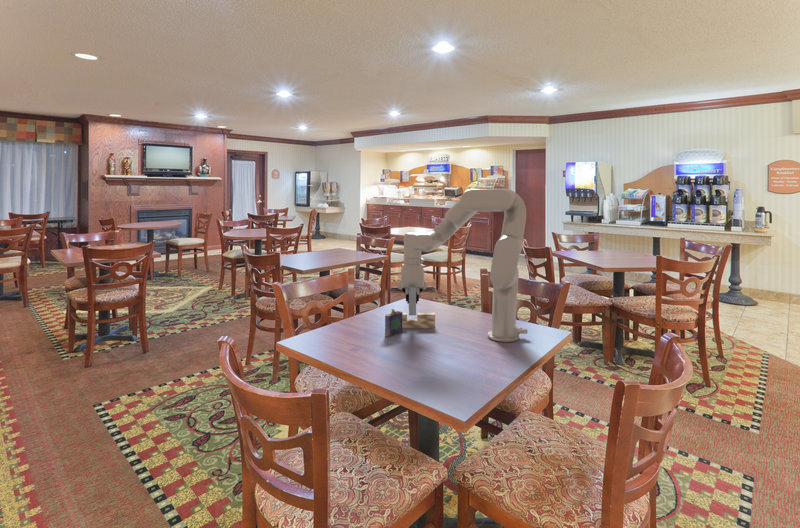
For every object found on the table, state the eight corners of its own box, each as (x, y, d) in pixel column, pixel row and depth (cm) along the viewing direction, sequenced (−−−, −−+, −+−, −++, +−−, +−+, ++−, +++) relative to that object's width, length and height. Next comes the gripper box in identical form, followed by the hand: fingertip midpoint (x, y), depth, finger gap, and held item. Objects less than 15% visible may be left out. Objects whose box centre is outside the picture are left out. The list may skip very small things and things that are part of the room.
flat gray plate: (408, 309, 200) (408, 283, 198) (415, 309, 200) (415, 283, 198) (409, 315, 190) (409, 288, 188) (416, 315, 190) (416, 288, 188)
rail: (434, 325, 197) (434, 312, 196) (435, 327, 194) (435, 314, 193) (389, 325, 197) (389, 312, 196) (389, 327, 194) (389, 314, 193)
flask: (387, 337, 182) (387, 312, 180) (383, 335, 184) (382, 310, 182) (403, 332, 188) (403, 307, 186) (398, 330, 190) (398, 306, 188)
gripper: (430, 260, 195) (430, 300, 198) (393, 260, 195) (393, 300, 198) (432, 262, 187) (431, 305, 190) (393, 262, 187) (393, 305, 190)
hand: (412, 302), depth 194 cm, fingers closed on flat gray plate, 3 cm apart
